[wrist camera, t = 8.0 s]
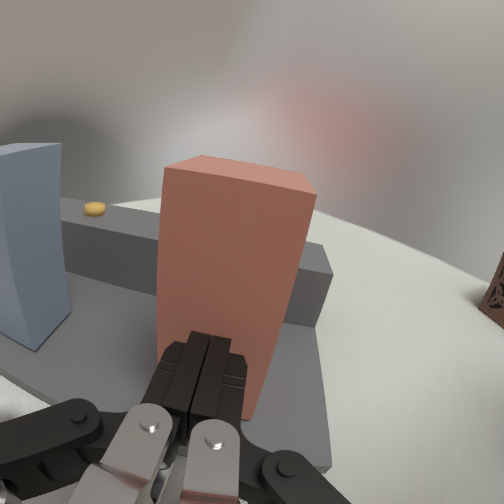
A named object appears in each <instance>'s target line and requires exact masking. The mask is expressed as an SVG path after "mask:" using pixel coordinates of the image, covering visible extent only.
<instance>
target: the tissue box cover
mask: <svg viewBox="0 0 504 504" xmlns="http://www.w3.org/2000/svg"><path fill="white" fill-rule="evenodd" d="M479 310H480V311H481V312H483V313H484V314H485V315H487V316H488V317H489V318H490V319H492V320H493V321H494V322H496V323H497V324H498V325H499V326H501V327H502V328H503V329H504V252H503V255H502V258H501V260H500V263H499V265H498V268H497V270H496V272H495V275H494V277H493V279H492V282H491V284H490V286H489V288H488V290H487V292H486V294H485V297H484V299H483V301H482V303H481V305H480V307H479Z"/></svg>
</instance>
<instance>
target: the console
mask: <svg viewBox="0 0 504 504" xmlns="http://www.w3.org/2000/svg"><path fill="white" fill-rule="evenodd" d="M60 212H61V231H62V244H63V254H64V263H65V271H66V279H67V286H68V292H69V298H70V304H71V309H72V311H71V312H70V313H69V314H68V315H67V316H66V317H65V319H64V320H63V321H62V322H61V323H60V324H59V325H58V326H57V327H56V328H55V329H54V330H53V332H52V333H51V334H50V335H49V336H48V337H47V338H46V339H45V340H44V342H43V343H42V344H41V345H40V346H39V347H38V348H37V350H36V351H33V350H32V349H30V348H28V347H26V346H24V345H22V344H20V343H19V342H17V341H15V340H13V339H12V338H10V337H8V336H6V335H5V334H3V333H1V332H0V374H1V375H2V376H4V377H5V378H7V379H8V380H10V381H11V382H13V383H14V384H16V385H17V386H19V387H20V388H22V389H24V390H25V391H27V392H29V393H30V394H32V395H34V396H35V397H37V398H39V399H41V400H42V401H44V402H46V403H48V404H50V405H52V406H53V405H56V404H59V403H61V402H64V401H67V400H70V399H73V398H82V399H86V400H88V401H90V402H91V403H93V404H94V405H95V406H96V407H97V409H98V411H103V412H116V413H119V412H126V411H129V410H130V409H131V408H133V407H134V406H136V405H139V404H140V402H141V401H142V399H143V397H144V395H145V392H146V390H147V388H148V386H149V383H150V381H151V379H152V377H153V374H154V372H155V370H156V369H157V366H158V355H157V261H158V240H159V223H160V213H154V212H148V211H143V210H137V209H131V208H125V207H119V206H113V205H107V204H104V203H101V202H89V201H83V200H76V199H70V198H64V197H60ZM332 277H333V272H332V269H331V267H330V264H329V261H328V259H327V256H326V253H325V251H324V248H323V245H321V244H316V243H311V242H306V241H305V245H304V248H303V252H302V256H301V260H300V263H299V267H298V271H297V274H296V278H295V282H294V285H293V289H292V292H291V296H290V299H289V303H288V306H287V310H286V313H285V316H284V320H283V323H282V327H281V330H280V333H279V336H278V340H277V343H276V346H275V349H274V353H273V356H272V359H271V362H270V365H269V368H268V371H267V375H266V378H265V381H264V384H263V387H262V390H261V393H260V396H259V399H258V402H257V405H256V408H255V410H254V413H253V416H252V419H251V421H250V420H244V419H241V430H242V433H243V434H244V436H245V437H246V439H247V440H248V441H250V442H251V443H252V444H254V445H256V446H258V447H260V448H262V449H265V450H267V451H270V452H272V453H273V452H275V451H279V450H292V451H295V452H298V453H300V454H301V455H303V456H304V457H305V458H306V459H307V460H308V461H309V462H310V463H311V464H312V465H313V466H314V467H315V468H316V469H317V470H318V471H319V472H320V473H326V472H327V471H328V470H329V469H330V468H331V467H332V458H331V448H330V438H329V429H328V420H327V411H326V403H325V395H324V388H323V380H322V373H321V366H320V359H319V352H318V345H317V339H316V332H315V326H316V323H317V320H318V318H319V315H320V312H321V309H322V307H323V304H324V301H325V298H326V295H327V292H328V289H329V286H330V283H331V280H332ZM188 446H189V439H188V443H187V447H185V446H181V445H179V449H178V452H177V454H178V455H182V456H186V457H187V455H188V449H189V447H188Z"/></svg>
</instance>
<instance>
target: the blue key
mask: <svg viewBox="0 0 504 504" xmlns="http://www.w3.org/2000/svg"><path fill="white" fill-rule="evenodd" d="M60 161H61V143H14V144H9V145H4V146H0V332H1V333H3V334H5V335H6V336H8V337H10V338H12V339H13V340H15V341H17V342H19V343H20V344H22V345H24V346H26V347H28V348H30V349H32V350H33V351H36V350H37V348H38V347H39V346H40V345H41V344H42V343H43V342H44V340H45V339H46V338H47V337H48V336H49V335H50V334H51V333H52V332H53V330H54V329H55V328H56V327H57V326H58V325H59V324H60V323H61V322H62V321H63V320H64V319H65V317H66V316H67V315H68V314H69V313H70V312H71V311H72V309H71V304H70V298H69V292H68V286H67V279H66V271H65V263H64V254H63V244H62V231H61V212H60Z"/></svg>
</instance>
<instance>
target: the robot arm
mask: <svg viewBox="0 0 504 504" xmlns="http://www.w3.org/2000/svg"><path fill="white" fill-rule="evenodd" d="M231 341H232V339H230V338H225V337H220V336H215V335H212V338H211V335H210V334H206V333H201V332H197V331H191V333H190V335H189V338H188V340H187V343H183V342H179V341H174V342H173V343H171V344H170V345H169V346H168V347H166V348H165V350H164V353H163V355H162V357H161V360H160V361H159V363H158V366H157V369H156V370H155V372H154V374H153V377H152V379H151V381H150V383H149V386H148V388H147V390H146V392H145V395H144V397H143V399H142V401H141V402H140V404H139V405H136V406H134V407H133V408H131V409H130V410H129V411H126V412H119V413H116V412H103V411H98V409H97V407H96V406H95V405H94V404H93V403H91V402H90V401H88V400H86V399H82V398H73V399H70V400H67V401H64V402H61V403H59V404H56V405H53V406H50V407H47V408H45V409H42V410H39V411H36V412H33V413H30V414H27V415H24V416H21V417H18V418H15V419H12V420H9V421H5V422H2V423H0V504H22V503H21V501H23V500H26V499H30V498H33V497H36V496H39V495H42V494H46V493H48V492H51V491H54V490H57V489H60V488H63V487H65V486H68V485H70V484H73V483H76V482H78V481H79V483H78V485H77V487H76V488H75V490H74V492H73V494H72V496H71V498H70V499H69V501H68V503H67V504H159V502H160V500H161V497H162V495H163V492H164V489H165V487H166V484H167V482H168V479H169V476H170V474H171V471H172V468H173V466H174V463H175V459H176V456H177V452H178V449H179V445H181V446H185V447H187V443H188V439H189V446H188V447H189V449H188V455H187V461H186V468H185V475H184V481H183V488H182V493H181V496H180V501H179V504H240V502H239V499H238V498H240V499H242V500H244V501H247V502H248V504H351V503H350V502H349V501H348V500H347V499H346V498H345V497H344V496H343V495H342V494H341V493H340V492H339V491H338V490H337V489H335V488H334V487H333V486H332V485H331V484H330V483H329V482H328V481H327V480H326V479H325V478H324V477H323V476H322V475H321V474H320V472H319V471H318V470H317V469H316V468H315V467H314V466H313V465H312V464H311V463H310V462H309V461H308V460H307V459H306V458H305V457H304V456H303V455H301V454H300V453H298V452H295V451H292V450H279V451H275V452H273V453H272V452H270V451H267V450H265V449H262V448H260V447H258V446H256V445H254V444H252V443H251V442H250V441H248V440H247V439H246V437H245V436H244V434H243V433H242V430H241V417H242V409H243V401H244V393H245V385H246V378H247V370H248V365H247V363H246V360H245V358H244V355H240V354H235V353H229V352H230V346H231Z"/></svg>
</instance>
